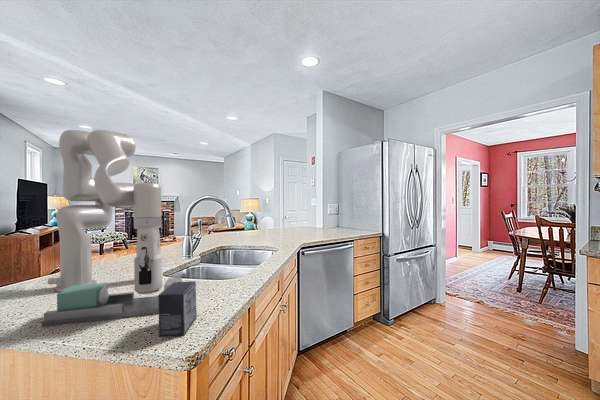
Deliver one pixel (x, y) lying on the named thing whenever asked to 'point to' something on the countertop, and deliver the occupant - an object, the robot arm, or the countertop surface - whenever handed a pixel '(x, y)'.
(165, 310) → the small box
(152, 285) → the can
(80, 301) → the block
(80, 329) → the countertop surface
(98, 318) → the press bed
